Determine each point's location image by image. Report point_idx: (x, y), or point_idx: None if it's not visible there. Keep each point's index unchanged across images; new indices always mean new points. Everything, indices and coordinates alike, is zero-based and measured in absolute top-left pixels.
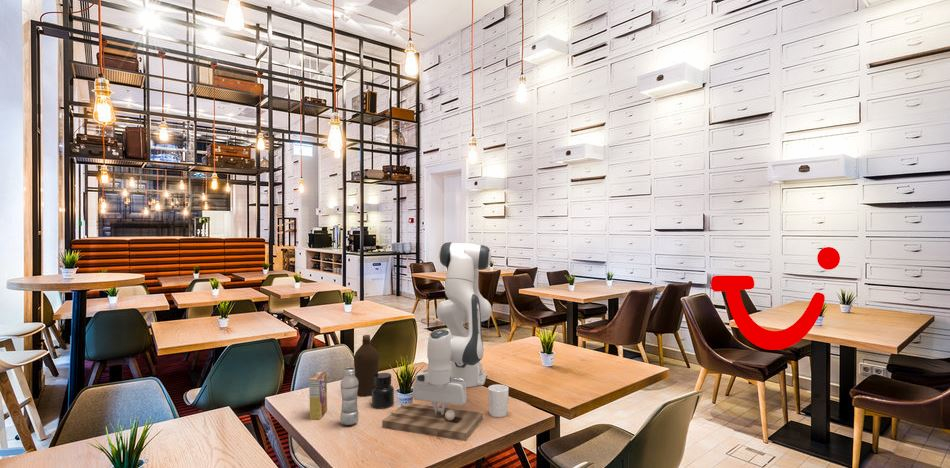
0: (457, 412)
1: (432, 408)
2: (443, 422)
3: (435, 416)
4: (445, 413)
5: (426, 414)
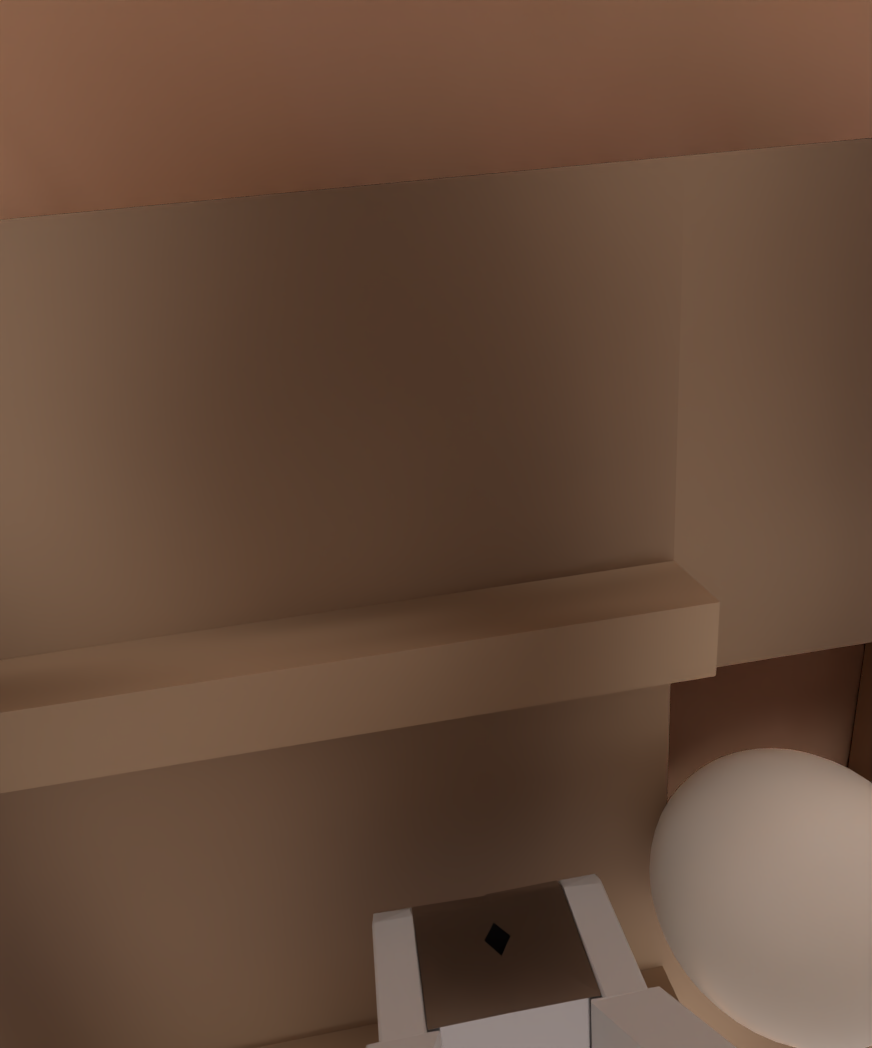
0: (791, 392)
1: (29, 732)
2: (661, 982)
3: (344, 856)
4: (711, 1001)
5: (54, 876)
